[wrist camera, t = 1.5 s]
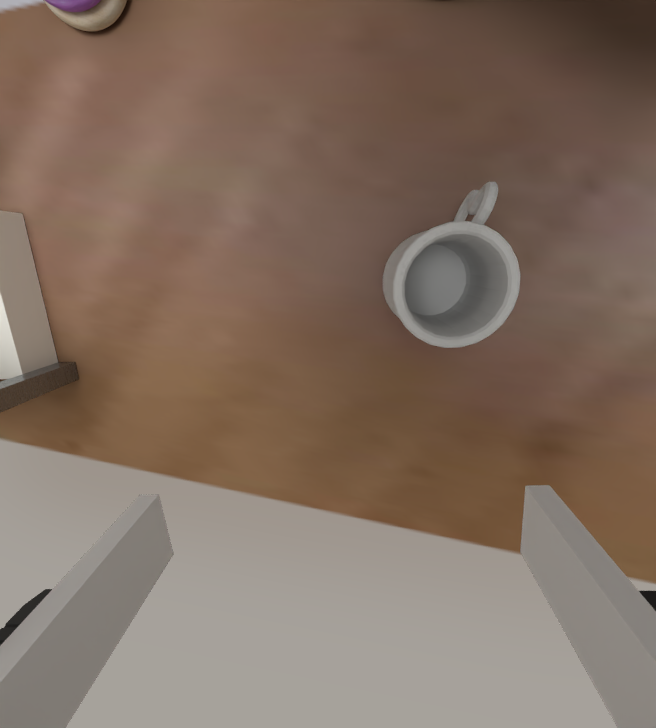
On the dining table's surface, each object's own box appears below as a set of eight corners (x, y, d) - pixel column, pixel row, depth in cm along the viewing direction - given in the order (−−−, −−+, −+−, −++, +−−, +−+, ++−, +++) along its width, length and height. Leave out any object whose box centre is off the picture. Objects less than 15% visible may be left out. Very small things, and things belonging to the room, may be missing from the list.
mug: (452, 339, 36) (486, 367, 27) (368, 308, 36) (372, 325, 27) (510, 214, 33) (573, 195, 23) (417, 180, 33) (442, 146, 23)
